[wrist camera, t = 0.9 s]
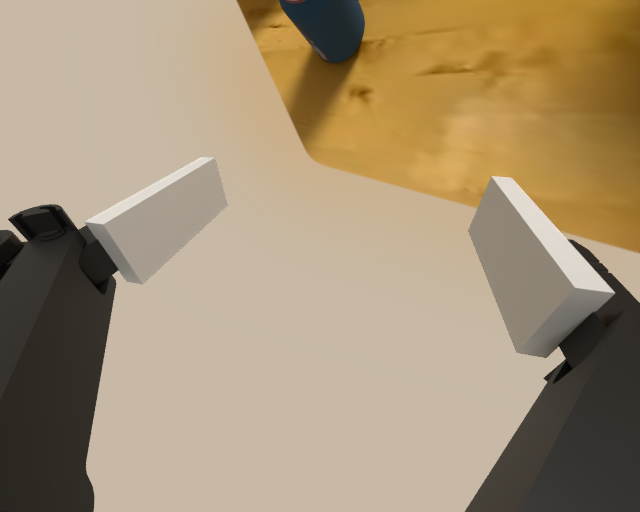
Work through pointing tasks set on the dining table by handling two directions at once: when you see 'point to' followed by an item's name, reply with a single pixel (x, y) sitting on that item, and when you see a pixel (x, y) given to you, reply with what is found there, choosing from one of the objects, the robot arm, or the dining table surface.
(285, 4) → the soda can
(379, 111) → the dining table surface
